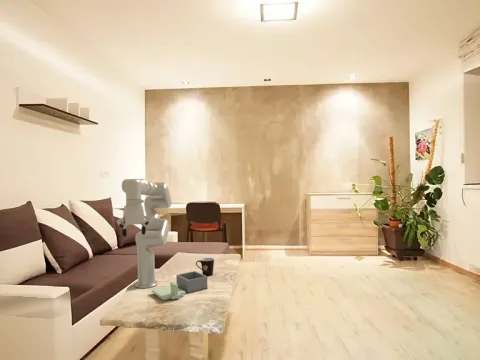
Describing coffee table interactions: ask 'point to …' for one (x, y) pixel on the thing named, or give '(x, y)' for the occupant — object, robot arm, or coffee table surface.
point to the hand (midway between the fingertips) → (134, 235)
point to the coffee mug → (207, 266)
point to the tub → (191, 282)
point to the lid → (169, 292)
